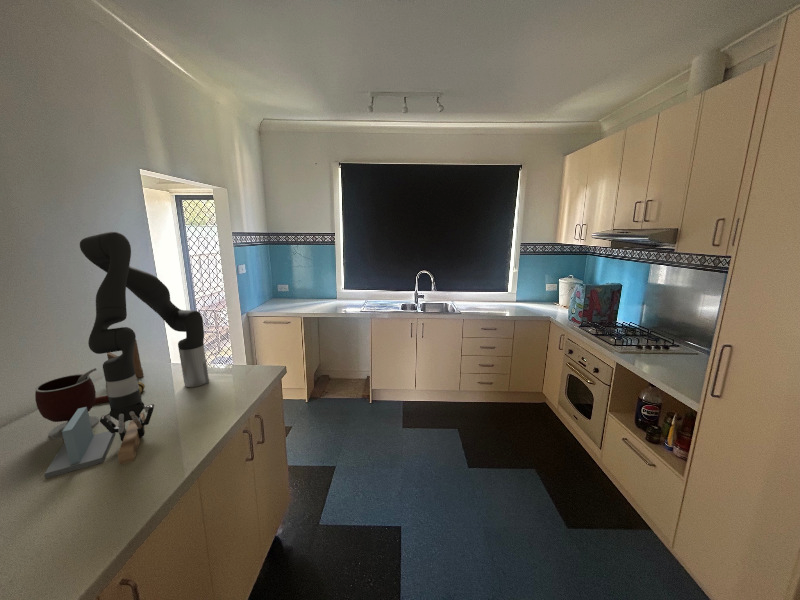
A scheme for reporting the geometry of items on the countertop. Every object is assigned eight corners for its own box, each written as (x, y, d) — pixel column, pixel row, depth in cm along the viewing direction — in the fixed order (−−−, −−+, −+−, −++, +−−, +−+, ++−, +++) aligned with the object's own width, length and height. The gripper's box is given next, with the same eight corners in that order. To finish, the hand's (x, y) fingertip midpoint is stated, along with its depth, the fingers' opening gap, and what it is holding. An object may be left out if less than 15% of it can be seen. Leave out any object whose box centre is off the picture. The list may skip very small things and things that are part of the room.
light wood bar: (134, 423, 113) (132, 414, 112) (145, 421, 115) (144, 412, 114) (119, 465, 93) (117, 454, 92) (133, 461, 95) (131, 450, 94)
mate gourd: (38, 446, 102) (22, 388, 97) (53, 424, 113) (39, 371, 109) (103, 429, 110) (91, 375, 106) (111, 411, 121) (100, 361, 117)
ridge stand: (115, 433, 108) (108, 401, 105) (103, 462, 94) (94, 425, 92) (66, 446, 101) (57, 411, 99) (45, 478, 88) (34, 439, 86)
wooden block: (113, 380, 146) (105, 343, 143) (143, 374, 153) (136, 338, 149) (113, 383, 144) (105, 345, 140) (143, 377, 150) (136, 340, 146)
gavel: (67, 406, 119) (78, 394, 128) (70, 417, 120) (82, 405, 129) (136, 390, 128) (143, 380, 137) (139, 401, 129) (146, 390, 138)
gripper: (153, 380, 107) (161, 426, 110) (96, 391, 100) (107, 440, 103) (150, 389, 101) (159, 438, 104) (89, 401, 93) (101, 453, 97)
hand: (133, 439), depth 104 cm, fingers closed on light wood bar, 3 cm apart
